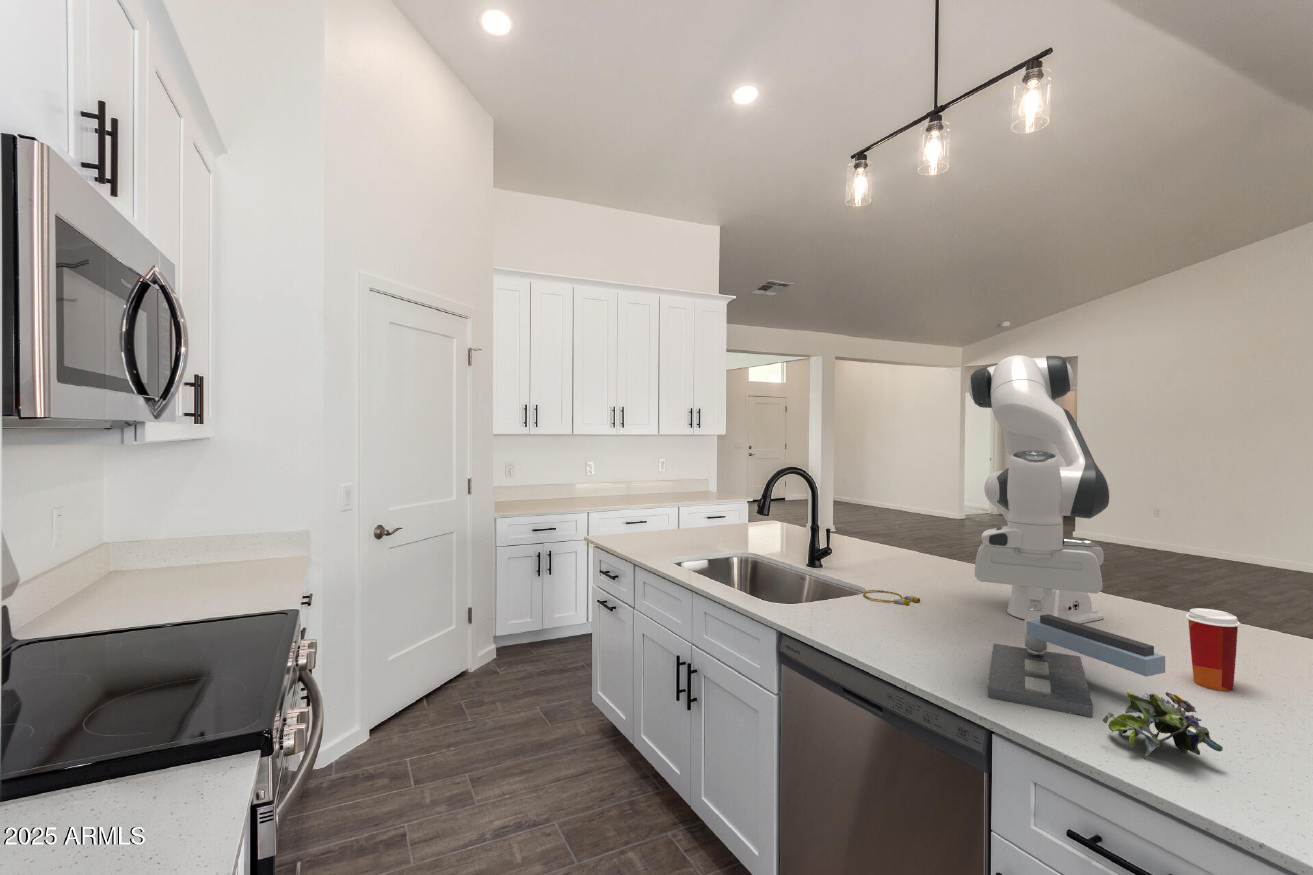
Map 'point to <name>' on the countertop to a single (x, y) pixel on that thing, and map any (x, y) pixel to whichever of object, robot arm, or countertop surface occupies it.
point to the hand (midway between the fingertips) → (1035, 610)
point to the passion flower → (1162, 723)
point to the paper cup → (1213, 647)
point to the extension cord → (906, 602)
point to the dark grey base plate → (1039, 679)
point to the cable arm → (1093, 644)
